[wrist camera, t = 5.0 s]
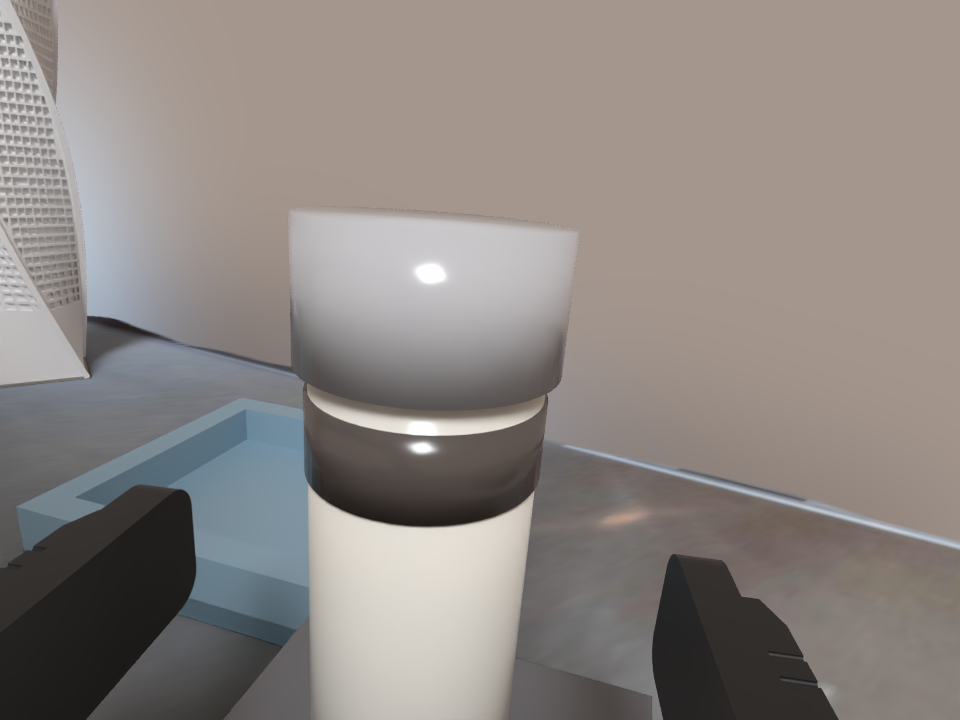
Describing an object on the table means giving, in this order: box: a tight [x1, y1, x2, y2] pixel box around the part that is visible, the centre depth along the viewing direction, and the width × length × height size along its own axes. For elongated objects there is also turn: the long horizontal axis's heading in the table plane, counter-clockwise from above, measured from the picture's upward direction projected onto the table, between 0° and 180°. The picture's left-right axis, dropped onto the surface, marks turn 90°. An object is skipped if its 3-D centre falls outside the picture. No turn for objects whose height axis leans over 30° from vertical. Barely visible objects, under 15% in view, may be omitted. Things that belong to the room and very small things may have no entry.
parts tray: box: [16, 398, 309, 646], centre depth 25 cm, size 14×12×2 cm
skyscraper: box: [0, 0, 90, 388], centre depth 36 cm, size 8×8×28 cm
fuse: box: [288, 207, 579, 720], centre depth 10 cm, size 4×4×14 cm
